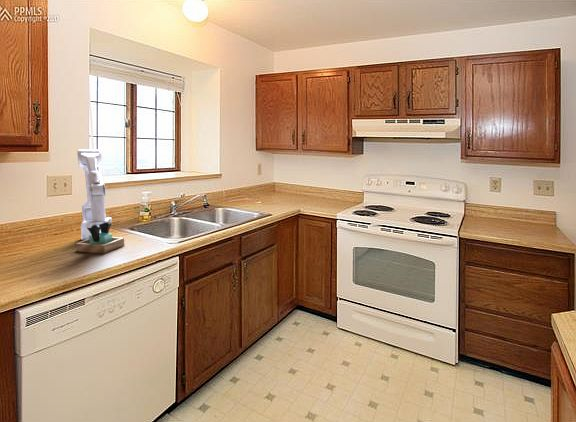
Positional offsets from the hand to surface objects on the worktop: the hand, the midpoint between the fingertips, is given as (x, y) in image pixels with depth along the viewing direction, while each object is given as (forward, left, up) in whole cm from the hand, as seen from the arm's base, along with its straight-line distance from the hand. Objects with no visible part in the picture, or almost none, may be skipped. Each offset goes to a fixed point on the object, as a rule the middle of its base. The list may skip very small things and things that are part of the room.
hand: (100, 240), depth 174 cm
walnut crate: (0, 0, -4) cm, 4 cm away
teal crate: (0, 0, -2) cm, 2 cm away
